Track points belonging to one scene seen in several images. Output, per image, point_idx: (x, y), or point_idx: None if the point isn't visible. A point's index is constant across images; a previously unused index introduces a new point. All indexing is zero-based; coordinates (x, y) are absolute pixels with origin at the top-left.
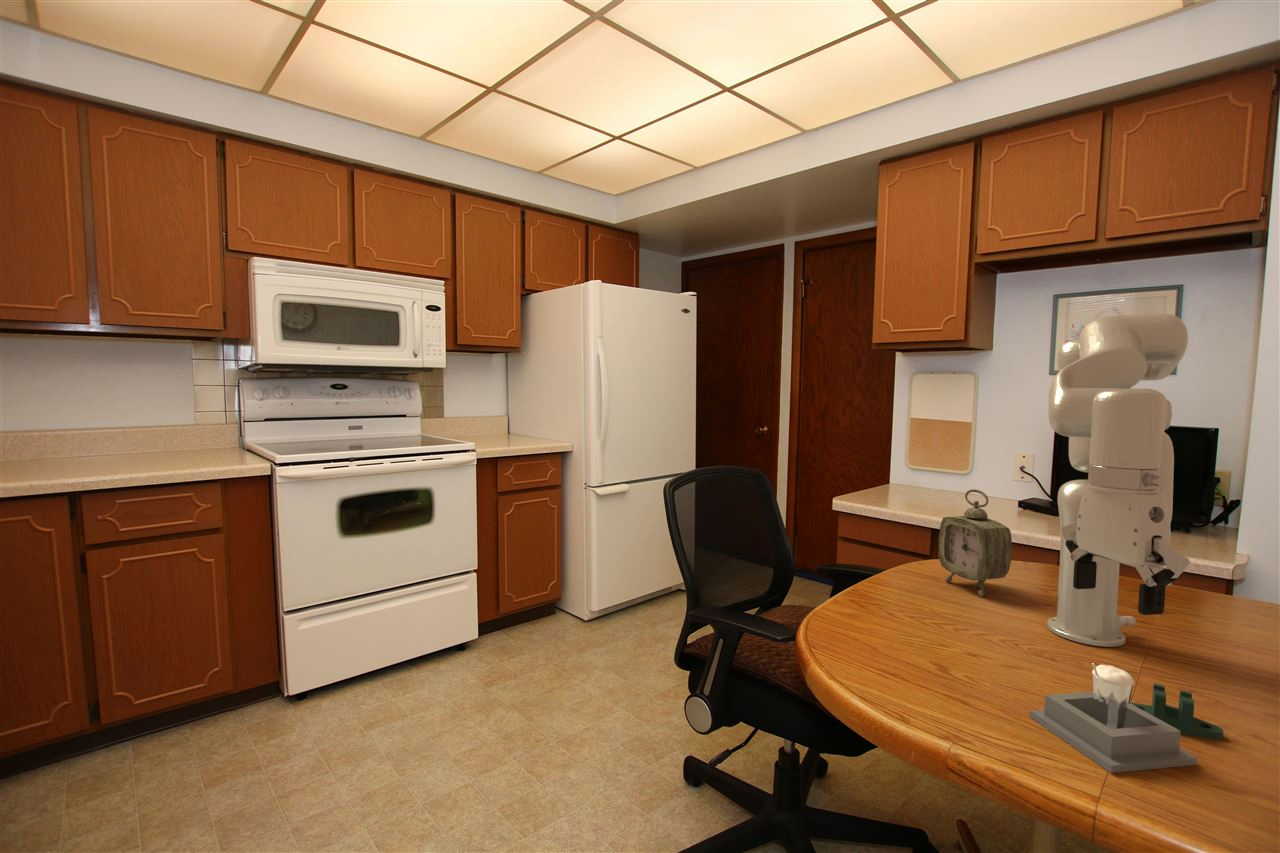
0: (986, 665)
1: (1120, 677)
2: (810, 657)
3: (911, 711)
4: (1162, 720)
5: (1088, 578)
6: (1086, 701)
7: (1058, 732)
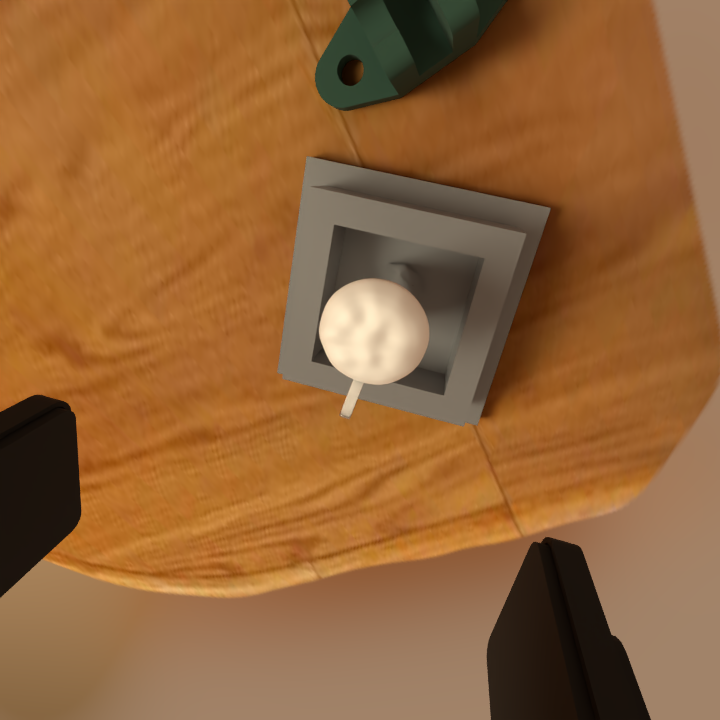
0: (62, 229)
1: (406, 361)
2: None
3: (213, 542)
4: (416, 82)
5: (15, 510)
6: (325, 290)
7: None
